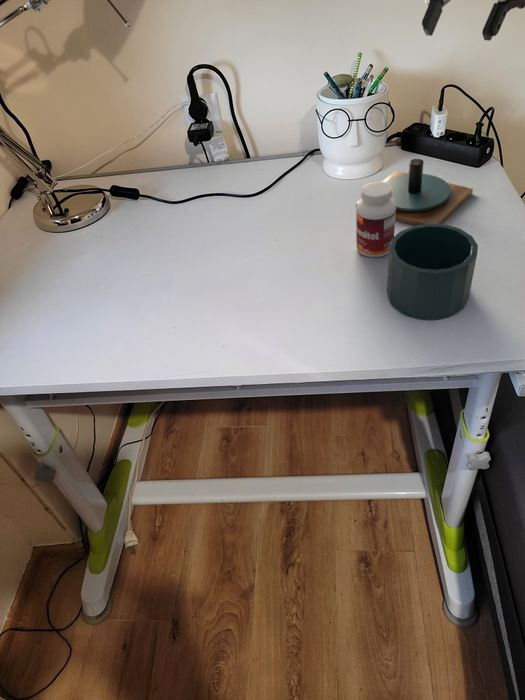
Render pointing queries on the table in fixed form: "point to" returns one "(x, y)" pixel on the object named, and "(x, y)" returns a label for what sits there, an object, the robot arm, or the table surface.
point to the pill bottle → (375, 219)
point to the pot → (430, 270)
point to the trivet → (434, 214)
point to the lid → (418, 189)
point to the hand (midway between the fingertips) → (455, 34)
